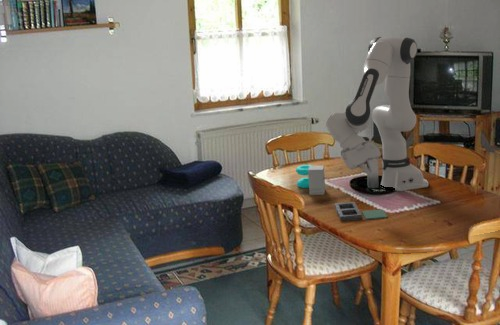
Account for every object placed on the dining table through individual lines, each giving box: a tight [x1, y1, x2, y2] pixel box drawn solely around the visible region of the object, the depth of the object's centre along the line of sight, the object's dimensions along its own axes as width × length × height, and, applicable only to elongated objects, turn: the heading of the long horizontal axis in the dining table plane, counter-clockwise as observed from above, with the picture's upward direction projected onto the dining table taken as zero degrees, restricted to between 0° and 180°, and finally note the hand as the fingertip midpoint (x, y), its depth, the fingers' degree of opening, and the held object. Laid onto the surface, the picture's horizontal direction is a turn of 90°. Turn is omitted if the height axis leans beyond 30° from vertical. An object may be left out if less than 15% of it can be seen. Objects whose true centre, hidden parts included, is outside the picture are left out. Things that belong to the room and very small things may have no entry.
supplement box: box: [307, 165, 326, 196], centre depth 288 cm, size 7×7×13 cm
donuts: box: [295, 164, 313, 189], centre depth 300 cm, size 10×10×10 cm
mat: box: [361, 208, 388, 221], centre depth 253 cm, size 9×9×1 cm
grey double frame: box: [334, 201, 363, 222], centre depth 258 cm, size 9×17×2 cm, turn 0°
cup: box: [366, 158, 380, 189], centre depth 249 cm, size 5×5×12 cm
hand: (373, 171), depth 248 cm, fingers closed on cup, 5 cm apart
